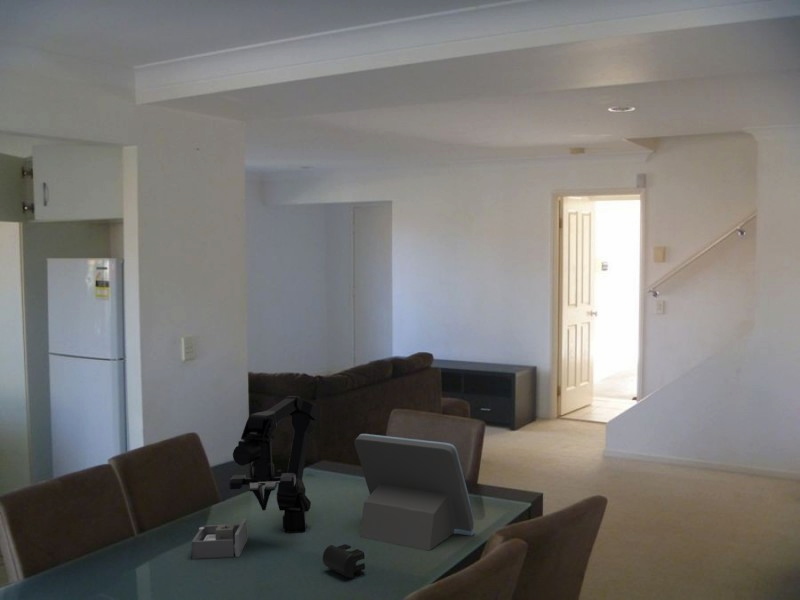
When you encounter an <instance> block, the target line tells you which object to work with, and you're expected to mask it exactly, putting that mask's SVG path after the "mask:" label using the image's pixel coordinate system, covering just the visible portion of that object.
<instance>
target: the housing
mask: <svg viewBox="0 0 800 600" xmlns="http://www.w3.org/2000/svg"><path fill="white" fill-rule="evenodd" d="M235 524H236V531H237V529H238V528H239V526H240V524H241V523H239V524H237V523H235ZM218 525H219V524H217V525H215V524H214V525H211V524H210V525H202V526H201V527H198V531H197V533H196V535H195V536H194V538H193V539H192V540H191V543H190V544H191V557H192V558H191V560H207V559H208V560H211V559H228V558H229V559H230V558H231V559H232V558H233V559H234V558H235V557H236V554H235V553H234V539H230V540H206V541H203V540H204V539H205V537H206V536H207V535H215V530H216V528H217V527H218Z"/></svg>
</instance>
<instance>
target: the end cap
mask: <svg viewBox="0 0 800 600" xmlns="http://www.w3.org/2000/svg"><path fill="white" fill-rule="evenodd" d="M348 549H352V546H351V545H348V544H347V543H343V544H342V545H338V546H335V545H333V544H330V545H328V546H327V547H326V548H325V549H324V551H323V554H322V562H323V564H324V566H325V567H327V568H328V569H329V570H332V571H334V572H336V573H338V574H340V575H342V576H343V577H346V578H348V579H350V580H354V579H356V578H359V577H361V576H364V575H365V572H364V571H365V569H366V564H365V562H363V563H360V564H357V562H359V561H362V560H365V552H364V551H363V550H360V549H359V548H357V549H353V550H348ZM363 570H364V571H363Z"/></svg>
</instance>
